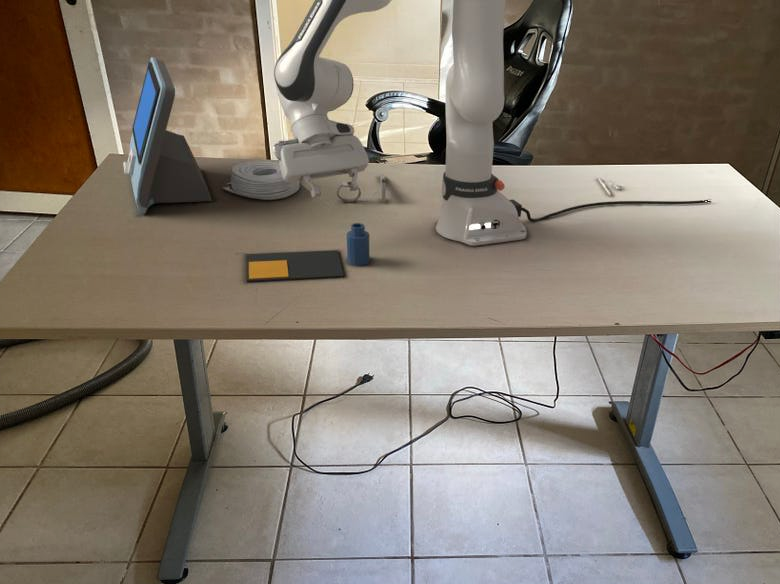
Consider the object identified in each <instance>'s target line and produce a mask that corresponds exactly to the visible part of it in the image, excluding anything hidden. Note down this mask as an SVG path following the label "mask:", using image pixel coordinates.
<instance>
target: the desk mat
mask: <svg viewBox="0 0 780 584" xmlns="http://www.w3.org/2000/svg"><path fill="white" fill-rule="evenodd" d="M334 278H335V279H336V278H345V274H344V270H343V266H342V261H341V257H340V253H339V250H338V249H334V250H333V249H332V250H312V251H311V250H309V251H290V252H289V251H288V252H287V251H285V252H267V253H266V252H265V253H264V252H263V253H247V254H246V283H259V282H277V281H278V282H279V281H297V280H298V281H299V280H315V279H318V280H319V279H334Z"/></svg>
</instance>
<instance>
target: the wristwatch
mask: <svg viewBox="0 0 780 584" xmlns="http://www.w3.org/2000/svg"><path fill="white" fill-rule="evenodd" d="M349 183H350V181H342V182H341V183H340V184H339V186H338V187H337V189H336V197H337V198H338V199H339V200H341V201H343V202H344V203H354V202H355V201H357V200H359V199H360V197H361V195H362V192H361V188H360V187H359V188H358V195H357V196H356V197H354V198H352V199H347V198H344V197H342V196H340V194H339V193H340V189H341V188H349V186H348V184H349Z"/></svg>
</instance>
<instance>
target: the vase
mask: <svg viewBox="0 0 780 584" xmlns="http://www.w3.org/2000/svg"><path fill="white" fill-rule="evenodd" d="M350 227H351V228H350V230H349V231H347V232H346V258H347V263H348V264H349V265H351V266H356V267H362V266H366V265H368V264H369V263H370V233H369V232H368V231H366V228H365V224H363V223H360V222H354V223H352V224H351V225H350Z"/></svg>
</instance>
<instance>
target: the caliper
mask: <svg viewBox="0 0 780 584" xmlns="http://www.w3.org/2000/svg"><path fill="white" fill-rule="evenodd" d="M379 177H380V178H379V181H380V189H381V202H382V203H386V200H387V197H386V196H387V195H386V192H387V191H386V190H387V188H386V185H387V184H386V181H387V180H386V177H385V175H384V174H383V173H382V174H379Z"/></svg>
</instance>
